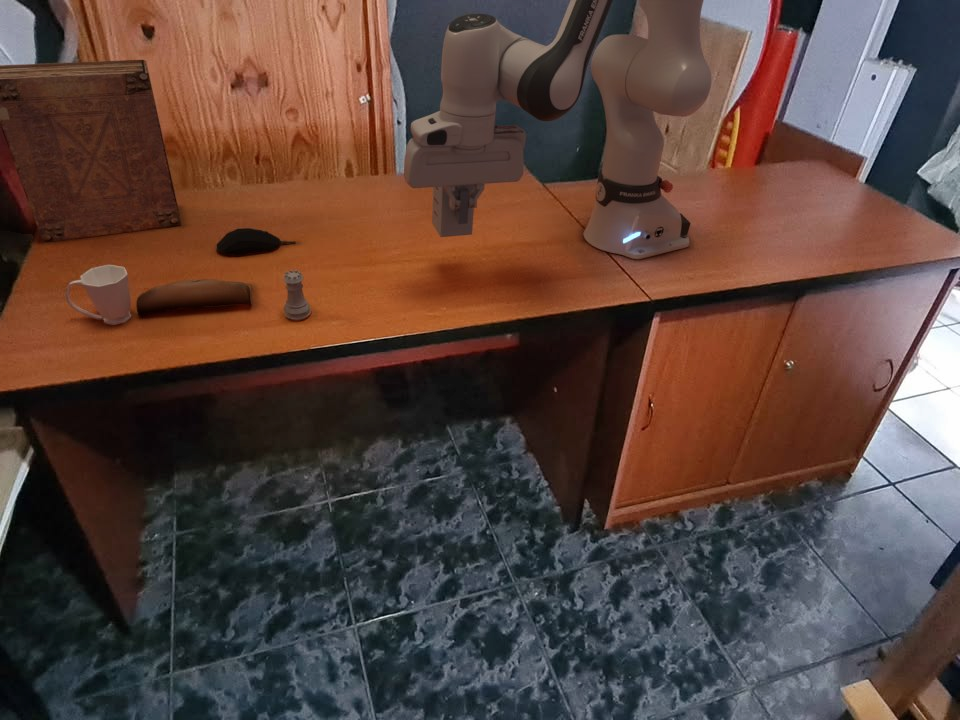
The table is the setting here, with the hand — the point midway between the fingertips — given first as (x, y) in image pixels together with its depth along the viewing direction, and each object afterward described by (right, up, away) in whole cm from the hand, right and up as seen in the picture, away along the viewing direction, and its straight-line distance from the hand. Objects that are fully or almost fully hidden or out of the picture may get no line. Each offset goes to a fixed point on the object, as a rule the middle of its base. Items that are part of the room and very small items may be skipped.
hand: (462, 207), depth 119 cm
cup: (-58, -20, -5) cm, 62 cm away
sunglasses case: (-46, -16, 0) cm, 49 cm away
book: (-71, +1, +21) cm, 75 cm away
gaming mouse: (-41, -4, +17) cm, 44 cm away
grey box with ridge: (-3, +4, +8) cm, 9 cm away
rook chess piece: (-28, -19, -2) cm, 34 cm away
